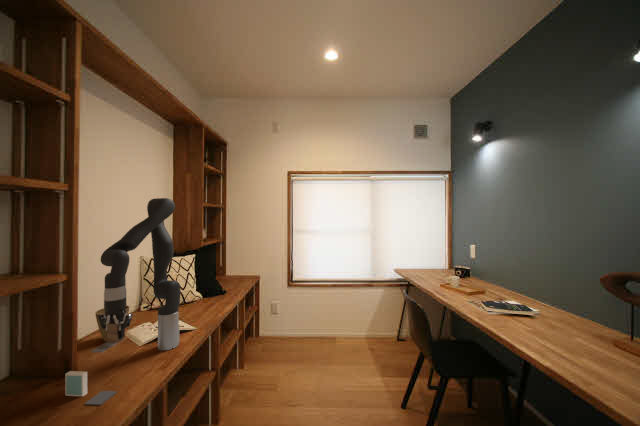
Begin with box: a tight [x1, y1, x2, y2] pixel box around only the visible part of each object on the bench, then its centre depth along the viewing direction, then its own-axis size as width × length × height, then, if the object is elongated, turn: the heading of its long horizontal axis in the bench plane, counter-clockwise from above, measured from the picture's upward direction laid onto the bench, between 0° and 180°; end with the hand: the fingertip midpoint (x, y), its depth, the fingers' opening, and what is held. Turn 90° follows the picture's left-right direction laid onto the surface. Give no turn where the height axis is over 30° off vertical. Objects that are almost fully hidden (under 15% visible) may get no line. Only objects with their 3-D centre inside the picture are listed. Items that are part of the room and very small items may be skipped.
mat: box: [84, 390, 118, 406], centre depth 98 cm, size 7×6×1 cm
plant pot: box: [94, 304, 130, 343], centre depth 148 cm, size 15×15×16 cm
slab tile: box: [64, 370, 88, 397], centre depth 100 cm, size 2×7×8 cm, turn 85°
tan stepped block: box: [90, 321, 125, 354], centre depth 109 cm, size 11×4×8 cm, turn 176°
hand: (115, 338), depth 113 cm, fingers closed on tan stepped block, 4 cm apart
